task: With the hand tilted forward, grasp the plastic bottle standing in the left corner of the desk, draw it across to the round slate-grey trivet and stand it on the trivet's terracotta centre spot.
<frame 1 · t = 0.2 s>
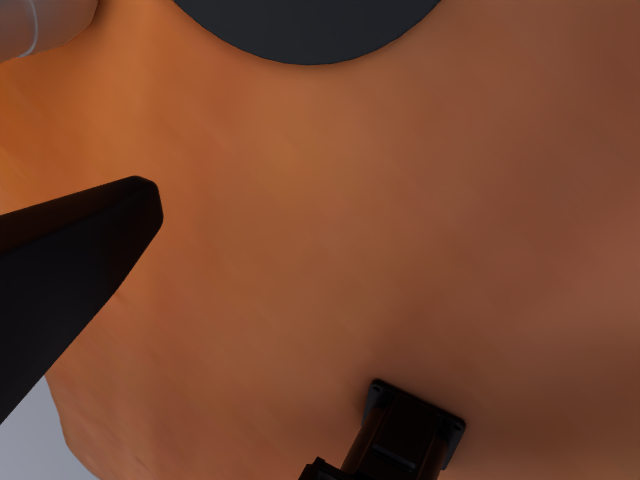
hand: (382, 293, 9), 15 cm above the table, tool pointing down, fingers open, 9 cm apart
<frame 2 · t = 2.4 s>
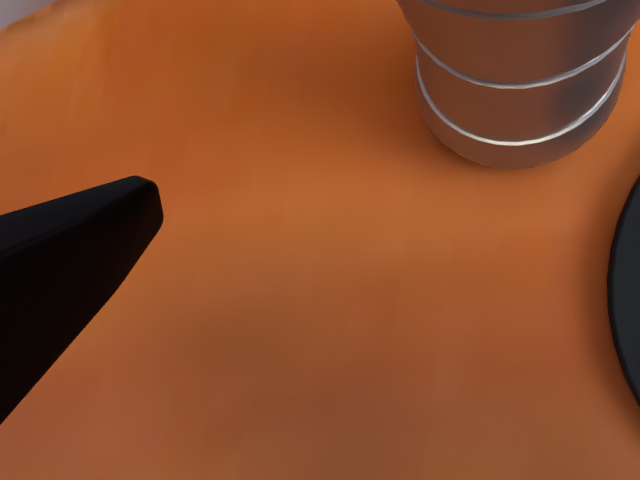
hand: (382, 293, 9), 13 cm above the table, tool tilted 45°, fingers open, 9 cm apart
plastic bottle: (510, 99, 22), on the table
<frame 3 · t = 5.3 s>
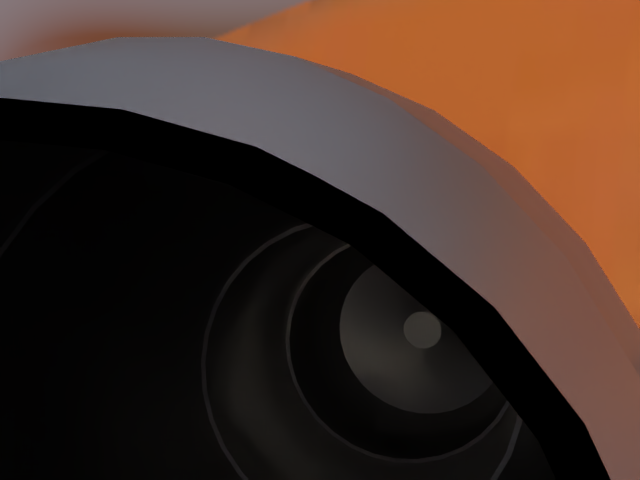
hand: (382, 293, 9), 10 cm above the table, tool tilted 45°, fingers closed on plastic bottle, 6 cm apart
plastic bottle: (422, 328, 18), on the table, touching gripper
when the fingers open (11 cm above the table, at t = 10.6 s): plastic bottle stays where it is, resting on trivet.
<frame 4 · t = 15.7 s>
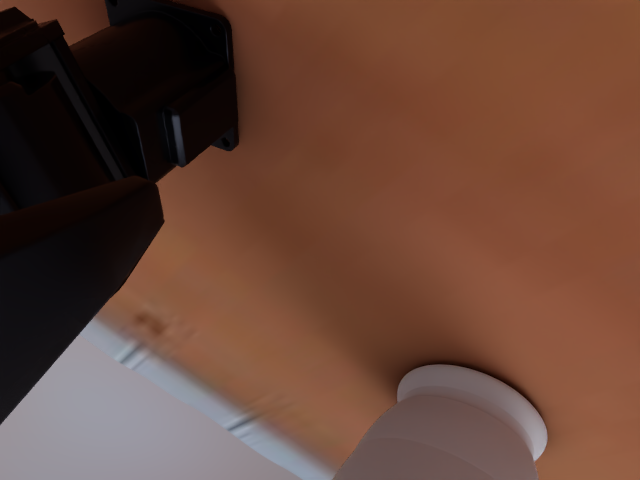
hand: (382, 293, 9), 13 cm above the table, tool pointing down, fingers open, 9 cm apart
jar: (471, 408, 32), on the table
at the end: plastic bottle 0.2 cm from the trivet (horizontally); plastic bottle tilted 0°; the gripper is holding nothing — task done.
